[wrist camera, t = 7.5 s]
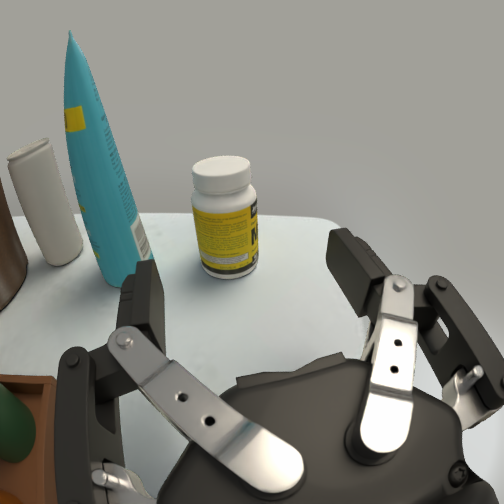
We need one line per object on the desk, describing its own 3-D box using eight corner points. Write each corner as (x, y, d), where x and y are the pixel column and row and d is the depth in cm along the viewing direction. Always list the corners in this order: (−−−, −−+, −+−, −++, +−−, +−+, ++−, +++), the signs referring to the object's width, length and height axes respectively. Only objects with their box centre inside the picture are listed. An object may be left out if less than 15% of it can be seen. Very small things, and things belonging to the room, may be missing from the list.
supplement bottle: (265, 275, 23) (263, 173, 17) (204, 285, 22) (186, 183, 17) (251, 240, 26) (247, 150, 21) (199, 248, 26) (185, 158, 20)
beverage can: (60, 274, 23) (13, 159, 16) (40, 261, 25) (0, 159, 18) (93, 245, 27) (58, 135, 19) (70, 236, 28) (38, 138, 21)
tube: (97, 258, 25) (45, 56, 13) (142, 239, 27) (103, 39, 15) (114, 308, 20) (37, 40, 8) (169, 283, 22) (121, 18, 10)
